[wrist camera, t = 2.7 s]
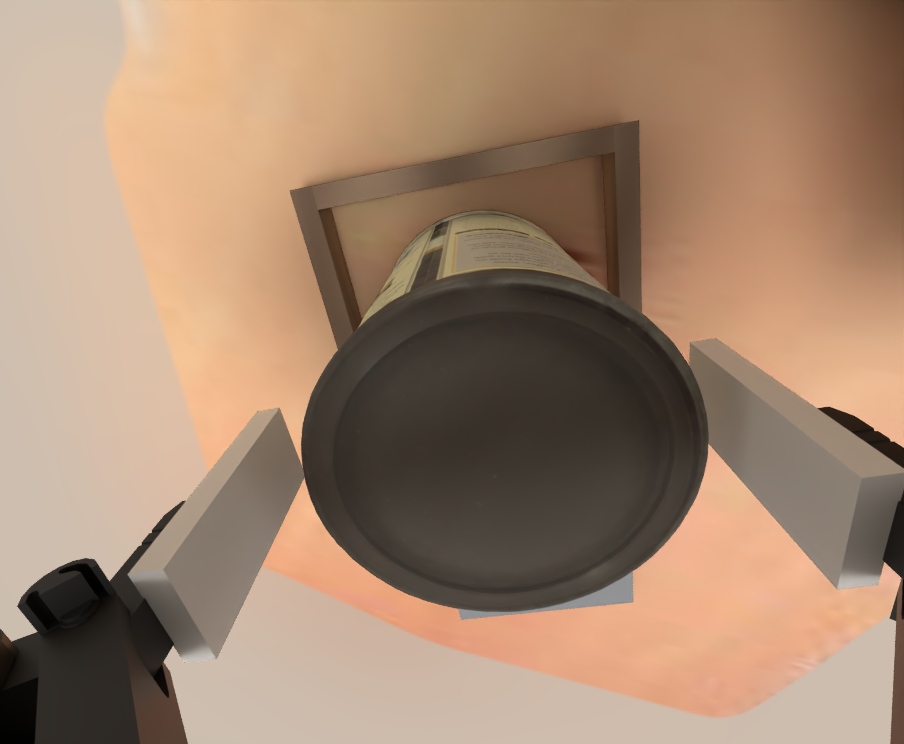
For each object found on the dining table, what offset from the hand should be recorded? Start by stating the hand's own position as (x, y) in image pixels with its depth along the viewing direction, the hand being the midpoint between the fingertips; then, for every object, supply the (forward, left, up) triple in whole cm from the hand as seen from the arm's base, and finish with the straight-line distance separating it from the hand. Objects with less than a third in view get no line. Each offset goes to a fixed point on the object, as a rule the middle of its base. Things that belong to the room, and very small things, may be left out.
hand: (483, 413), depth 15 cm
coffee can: (0, 0, -11) cm, 11 cm away
